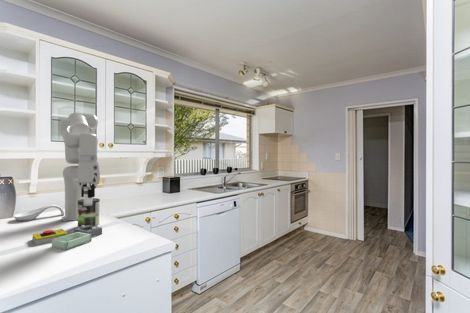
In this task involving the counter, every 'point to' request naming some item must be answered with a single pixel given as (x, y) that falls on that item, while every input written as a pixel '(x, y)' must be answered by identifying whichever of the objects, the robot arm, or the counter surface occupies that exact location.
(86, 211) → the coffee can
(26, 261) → the counter surface
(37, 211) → the spoon rest
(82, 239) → the tray
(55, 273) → the counter surface
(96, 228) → the block
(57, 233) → the emergency button
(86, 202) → the fuse
